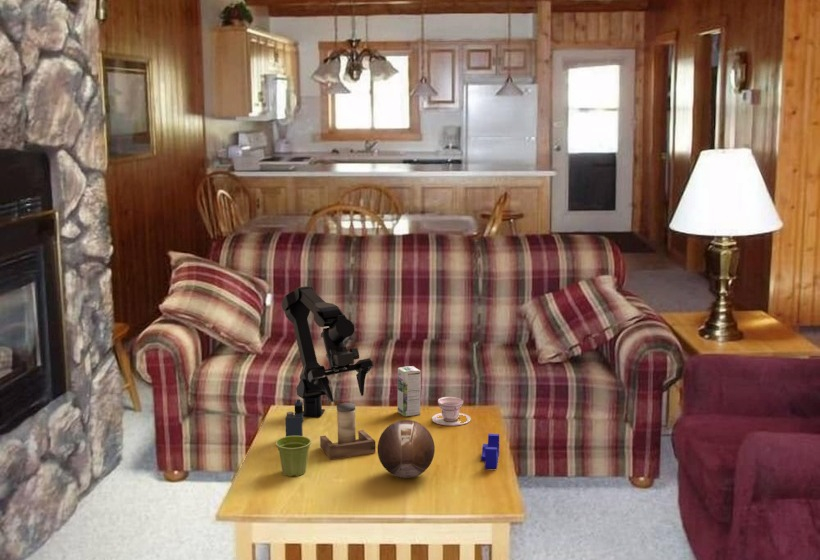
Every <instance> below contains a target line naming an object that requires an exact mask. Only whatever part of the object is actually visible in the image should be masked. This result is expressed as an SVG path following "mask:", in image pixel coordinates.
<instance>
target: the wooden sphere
mask: <svg viewBox="0 0 820 560" xmlns="http://www.w3.org/2000/svg"><path fill="white" fill-rule="evenodd" d="M435 448H436V446H435V442H434V438H433V436H432V434H431V432H430V431H429V429H428V428H427V427H426V426H424V425H423V424H421V423H419V422H417V421H415V420H410V419H402V420H398V421H395V422H392V423H391V424H389V425H388V426H387V427H385V429H384V430H383V432H382V433H381V434H380V437H379V439H378V442H377V456H378V459H379V461H380V463H381V465H382V467H383V469H385V471H387V472H388V473H389V474H390V475H393V476H395V477H396V478H397V477H398V478H402V479H410V478H415V477H418V476H420V475H421V474H423V473H424V472H426V470H428V468H429V467H430V466H431V464H432V462H433V459H434V457H435V451H436V450H435Z"/></svg>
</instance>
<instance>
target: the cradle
mask: <svg viewBox="0 0 820 560" xmlns="http://www.w3.org/2000/svg"><path fill="white" fill-rule="evenodd" d="M357 433H358V438H356V442H352V443H346V444H339V445H338V441H337V442H332V441H331V440H330V439H329V438H328V437H327V436H326V435H320V436H319V438H320V439H319V440H320V442H319V443H320V447H321V448H322V449H323V450H322V449H321V448H320V449H321V450H322V451H323V453H325V455H326V456H328V458H330V459H331V460H336V458H337V459H343V457H344V458H349V456H350V457H357V456H362V455H368V454H375V453H377V452H376V448H377V447H376V440H375V439H374V438H373V437H372V436H370V434H369V433H368V432H366V431H365V430H364V429H361V430H358V432H357Z"/></svg>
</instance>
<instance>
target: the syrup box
mask: <svg viewBox="0 0 820 560" xmlns="http://www.w3.org/2000/svg"><path fill="white" fill-rule="evenodd" d="M421 374H422V373H421V370H420V369H418V368H416V367H415V366H413V365H412V366H410V365H409V366H401V367H398V368H397V413H399V414H400V415H402V416H403V417H410V416H417V415H421V404H422V403H421V395H422V393H421V392H422V391H421V384H422V383H421V382H422V381H421V380H422V379H421V376H422V375H421Z"/></svg>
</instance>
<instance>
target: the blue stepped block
mask: <svg viewBox="0 0 820 560" xmlns="http://www.w3.org/2000/svg"><path fill="white" fill-rule="evenodd" d="M498 457H500V434H499V433H488V435H487V443H482V448H481V459H480V461H481V462H484V465H485V466H484V469H485V470H486V469H497V470H498V464H499V463H498V462H499V458H498ZM497 463H498V464H497Z"/></svg>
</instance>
